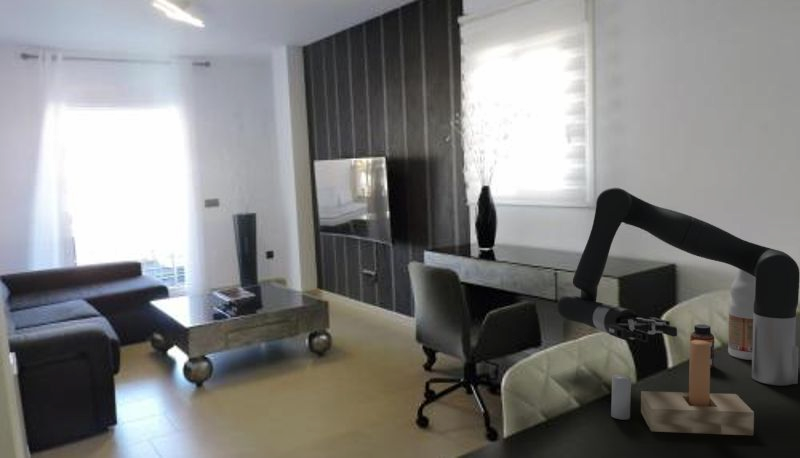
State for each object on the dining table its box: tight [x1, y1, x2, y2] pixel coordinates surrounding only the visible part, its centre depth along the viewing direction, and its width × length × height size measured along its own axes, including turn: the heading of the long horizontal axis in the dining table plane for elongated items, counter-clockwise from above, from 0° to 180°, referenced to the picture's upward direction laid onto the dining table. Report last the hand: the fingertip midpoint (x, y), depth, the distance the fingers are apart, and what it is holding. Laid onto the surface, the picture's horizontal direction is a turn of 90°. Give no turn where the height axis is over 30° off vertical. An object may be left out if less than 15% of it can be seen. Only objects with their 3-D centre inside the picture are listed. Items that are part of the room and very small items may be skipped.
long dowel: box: [688, 340, 711, 407], centre depth 130 cm, size 4×4×18 cm
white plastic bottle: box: [727, 268, 756, 361], centre depth 172 cm, size 9×9×28 cm
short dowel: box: [610, 374, 632, 421], centre depth 135 cm, size 4×4×9 cm
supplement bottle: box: [689, 323, 715, 369], centre depth 166 cm, size 6×6×11 cm
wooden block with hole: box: [640, 390, 755, 436], centre depth 131 cm, size 20×10×5 cm, turn 80°
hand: (661, 334), depth 141 cm, fingers open, 8 cm apart
